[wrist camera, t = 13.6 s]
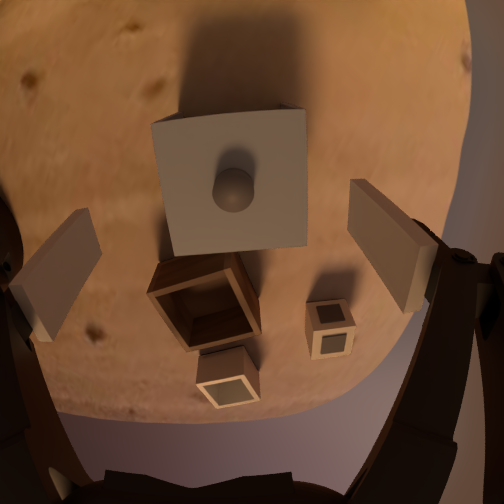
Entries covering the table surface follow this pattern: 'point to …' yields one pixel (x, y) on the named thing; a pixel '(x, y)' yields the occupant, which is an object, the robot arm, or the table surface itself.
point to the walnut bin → (206, 299)
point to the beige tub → (228, 378)
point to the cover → (234, 180)
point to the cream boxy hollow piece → (329, 329)
